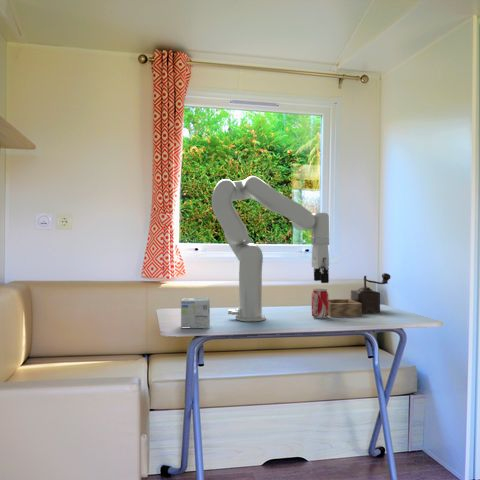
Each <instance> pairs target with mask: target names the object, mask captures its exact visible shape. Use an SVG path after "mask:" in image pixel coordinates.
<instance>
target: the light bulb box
mask: <svg viewBox="0 0 480 480" xmlns="http://www.w3.org/2000/svg"><path fill="white" fill-rule="evenodd" d="M210 309H211V307H210V297H202V298H201V297H200V298H199V297H196V298H194V297H193V298H191V297H190V298H188V297H187V298H184V297H183V298H182V299H181V300H180V328H181V327H190V328H203V329H209V328H210V324H211V323H210V321H211V318H210V317H211V316H210V315H211V314H210V313H211V312H210V311H211V310H210Z"/></svg>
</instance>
